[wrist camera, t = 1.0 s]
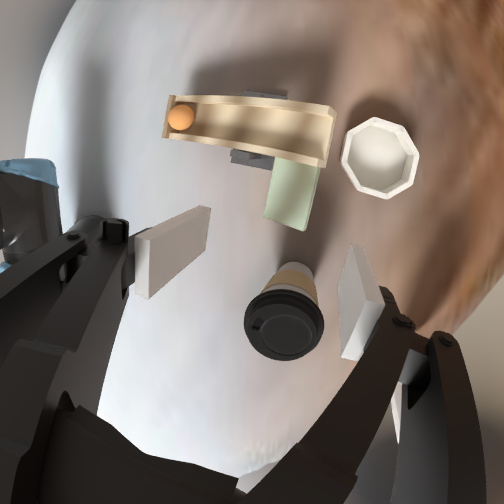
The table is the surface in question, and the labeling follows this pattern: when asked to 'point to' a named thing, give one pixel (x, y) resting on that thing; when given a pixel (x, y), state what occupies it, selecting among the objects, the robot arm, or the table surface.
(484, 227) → the table surface
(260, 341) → the coffee cup
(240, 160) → the fulcrum
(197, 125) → the lever
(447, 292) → the table surface
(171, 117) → the ball
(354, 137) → the bowl
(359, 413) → the robot arm
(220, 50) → the table surface
